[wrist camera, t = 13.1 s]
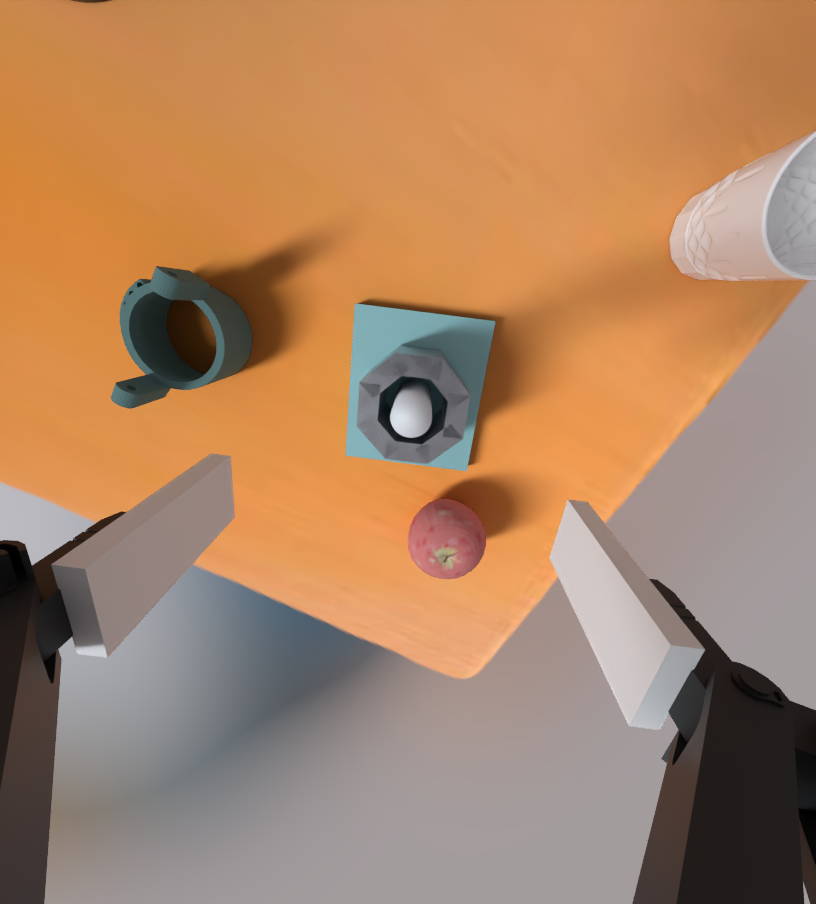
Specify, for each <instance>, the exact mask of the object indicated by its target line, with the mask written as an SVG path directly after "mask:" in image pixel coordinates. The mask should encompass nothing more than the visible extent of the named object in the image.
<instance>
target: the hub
mask: <svg viewBox="0 0 816 904" xmlns="http://www.w3.org/2000/svg"><path fill="white" fill-rule="evenodd" d="M401 376H408V377H416V378H424V379H431V380H432V382H433V383H434V384H435V385H436V387H437V388H438V389H439V391H440V392H441V393H442V395H443V403H442V409H441V410H439V411H438V412H437V413H435V414H434V415H433V416H432V422H431V425H430V427H429V429H428V430H427V431H426V432H425V433H424V434H423V435H421V436H418V437H414V438H408V437H404V436H402V435H400V434H399V433H397V432H396V431H395V430H394V428H393V426H392V424H391V421H390V414H391V410H392V409H391V408H390V407H389V405H388V404H387V403H386V394H387V387H388V386H390V385H391V384H392V383H393V382H395V381H396V380H397V379H398V378H400V377H401ZM470 396H471V395H470V393H469V391H468V389H467V386H466V384H465V382H464V380H463V379H462V378H461V376H460V375H459V374H458V372H457V371H456V370H455V368H454V367H453V366H452V364H451V363H450V362H449V360H448V359H447V358H446V356H445V355H444V354H443V352H442V351H441V349H434V348H425V347H417V346H408V345H400V346H399V347H397V348H396V349H395V350H394V351H393V352H391V353H390V354H389V355H388V356H387V357H385V358H384V359H383V360H382V361H381V362H379V363H378V364H377V365H376V366H375V367H373V368H372V369H371V370H370V371H369V372H368V373H367V374H366V375H365V376H364V378H363V379H362V380H361V381H360V382H359V396H358V412H357V427H358V428H359V430H360V431H361V432H362V433H363V434H364V435H365V436H366V438H367V439H368V440H369V441H370V442H371V443H372V444H373V446H374V447H375V448H376V449H377V450H378V451H379V452H380V454H381V455H382V456H383V457H384V458H385V459H391V460H399V461H407V462H415V463H424V464H429V463H430V462H431V461H433V460H434V459H436V458H437V457H438V456H440V455H441V454H443V453H444V452H446V451H447V450H448V449H450V448H451V447H453V446H454V445H455V444H457V443H458V442H460V441H461V440H463V436H464V431H465V425H466V419H467V413H468V408H469V402H470Z"/></svg>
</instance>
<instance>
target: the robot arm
mask: <svg viewBox="0 0 816 904" xmlns="http://www.w3.org/2000/svg"><path fill="white" fill-rule="evenodd" d="M73 1H79V2H96V1H102V0H73ZM234 517H235V516H234V500H233V484H232V469H231V456H226V455H218V454H210V455H208V456H207V457H206V458H204V459H203V460H201V461H200V462H198V463H197V464H195V465H194V466H193V467H191V468H190V469H188V470H187V471H185V472H184V473H182V474H181V475H180V476H178V477H177V478H175V479H174V480H172V481H171V482H169V483H168V484H167V485H165V486H164V487H162V488H161V489H159V490H158V491H157V492H155V493H154V494H152V495H151V496H149V497H148V498H146V499H145V500H144V501H142V502H141V503H139V504H138V505H136V506H135V507H133V508H132V509H131V510H129V511H128V512H119V513H117V514H114V515H112V516H109V517H107V518H104V519H102V520H100V521H99V522H97V523H96V524H94V525H93V526H91V527H90V528H88V529H87V530H86V532H82V533H81V534H79V535H78V536H76V537H75V538H73V541H69V542H67V543H66V544H64V545H63V546H61V547H60V548H58V549H57V550H55V551H54V552H52V553H51V554H49V555H48V556H46V557H44V558H43V559H42V560H40V561H38V562H37V563H35V564H34V565H31V562H30V559H29V555H28V552H27V549H26V546H25V544H23V543H21V542H19V541H8V540H3V541H0V904H44V899H45V898H44V897H45V884H46V870H47V856H48V842H49V828H50V813H51V799H52V784H53V771H54V770H53V769H54V756H55V742H56V727H57V714H58V700H59V685H60V671H61V657H60V654H59V650H58V649H59V648H60V647H61V646H62V645H63V644H64V643H65V642H66V641H67V640H69V639H70V638H71V637H73V641H74V644H75V647H76V651H77V654H83V655H92V656H99V657H106V658H107V657H109V655H110V654H111V653H112V652H113V651H114V650H115V649H116V648H117V647H118V646H119V644H120V643H121V642H122V641H123V640H124V639H125V638H126V637H127V636H128V634H129V633H130V632H131V631H132V630H133V629H134V628H135V627H136V625H138V623H139V622H140V621H141V620H142V619H143V618H144V617H145V615H146V614H147V613H148V612H149V611H150V610H151V609H152V608H153V607H154V606H155V605H156V603H157V602H158V601H159V600H160V599H161V598H162V597H163V596H164V595H165V593H166V592H167V591H168V590H169V589H170V588H171V587H172V585H174V584H175V583H176V581H177V580H178V579H179V578H180V577H181V576H182V575H183V574H184V573H185V571H186V570H187V569H188V568H189V567H190V566H191V565H192V564H193V563H194V562H195V560H196V559H197V558H198V557H199V556H200V555H201V554H202V553H203V552H204V550H205V549H206V548H207V547H208V546H209V545H210V544H211V543H212V542H213V541H214V539H215V538H216V537H217V536H218V535H219V534H220V533H221V532H222V531H223V529H224V528H225V527H226V526H227V525H228V524H229V523H230V522H231V521H232V520H233V518H234ZM550 560H551V562H552V564H553V566H554V569H555V571H556V573H557V575H558V577H559V579H560V581H561V583H562V585H563V587H564V590H565V591H566V594H567V596H568V598H569V600H570V602H571V604H572V606H573V609H574V611H575V613H576V615H577V617H578V619H579V621H580V623H581V625H582V628H583V630H584V632H585V634H586V636H587V638H588V640H589V643H590V645H591V646H592V649H593V651H594V653H595V655H596V657H597V659H598V662H599V664H600V666H601V667H602V670H603V672H604V674H605V676H606V678H607V680H608V683H609V685H610V687H611V689H612V691H613V693H614V695H615V697H616V700H617V702H618V704H619V706H620V708H621V710H622V712H623V714H624V716H625V719H626V721H627V723H628V725H629V726H633V727H640V728H648V729H656V730H660V728H661V727H662V725H663V723H664V721H665V720H666V718H667V716H668V714H670V715H671V717H672V719H673V721H674V722H675V724H676V726H677V728H678V729H679V730H678V732H677V734H676V735H675V737H674V739H673V740H672V742H671V744H670V745H669V747H668V749H667V750H666V752H665V754H664V755H663V757H662V760H664V761H665V762H666V763H667V766H666V770H665V774H664V778H663V783H662V787H661V790H660V795H659V799H658V803H657V807H656V811H655V815H654V819H653V823H652V827H651V831H650V835H649V839H648V843H647V847H646V851H645V855H644V859H643V863H642V868H641V872H640V876H639V880H638V884H637V888H636V892H635V896H634V900H633V904H804V893H803V882H804V885H805V888H806V891H807V894H808V898H809V901H810V904H816V710H813V709H810V708H808V707H805V706H803V705H800V704H797V703H794V702H792V701H789V699H788V698H787V697H786V696H785V694H784V693H783V692H782V691H781V689H780V688H779V687H777V686H776V685H775V684H774V683H773V682H772V681H770V680H769V679H768V678H767V677H765V676H764V675H762V674H760V673H759V672H757V671H756V670H754V669H752V668H750V667H747V666H745V665H743V664H741V663H737V662H732V661H731V660H730V659H729V657H728V656H727V655H726V654H725V653H724V651H723V650H722V649H721V648H720V647H719V645H718V644H717V643H716V642H715V641H714V639H713V638H712V637H711V636H710V635H709V634H708V632H707V631H706V630H705V629H704V628H703V627H702V625H701V624H700V623H699V622H698V621H696V620H695V617H694V616H693V615H692V613H691V612H690V611H689V610H688V609H686V608H685V605H684V604H683V603H682V602H681V601H680V599H679V598H678V597H677V596H676V594H675V593H674V592H672V591H671V590H670V589H669V588H667V587H666V586H665V585H663V584H662V583H660V582H659V581H658V580H654V579H648V577H647V576H646V575H645V574H644V572H643V571H642V570H641V569H640V567H639V566H638V565H637V563H636V562H635V561H634V560H633V558H632V557H631V556H630V555H629V553H628V552H627V551H626V550H625V548H624V547H623V546H622V545H621V543H620V542H619V541H618V540H617V539H616V537H615V536H614V535H613V533H612V532H611V531H610V530H609V528H608V527H607V526H606V525H605V523H604V522H603V521H602V520H601V518H600V517H599V516H598V515H597V513H596V512H595V511H594V510H593V508H592V507H591V506H590V504H589V503H588V502H583V501H575V500H568V501H567V504H566V507H565V510H564V513H563V517H562V520H561V523H560V526H559V529H558V532H557V536H556V539H555V542H554V545H553V548H552V551H551V555H550Z"/></svg>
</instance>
